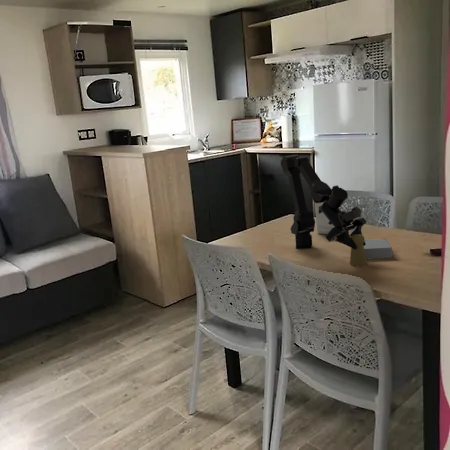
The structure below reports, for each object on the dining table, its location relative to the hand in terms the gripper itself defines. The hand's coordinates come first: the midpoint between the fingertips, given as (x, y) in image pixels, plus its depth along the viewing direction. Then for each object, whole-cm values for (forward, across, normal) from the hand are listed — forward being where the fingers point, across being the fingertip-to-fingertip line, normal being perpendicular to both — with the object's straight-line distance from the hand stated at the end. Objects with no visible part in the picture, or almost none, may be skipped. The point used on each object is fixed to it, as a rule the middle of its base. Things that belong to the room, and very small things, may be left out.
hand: (360, 247), depth 181 cm
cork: (+4, 0, +6) cm, 7 cm away
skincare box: (-22, +30, +32) cm, 49 cm away
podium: (+2, +13, +7) cm, 15 cm away
